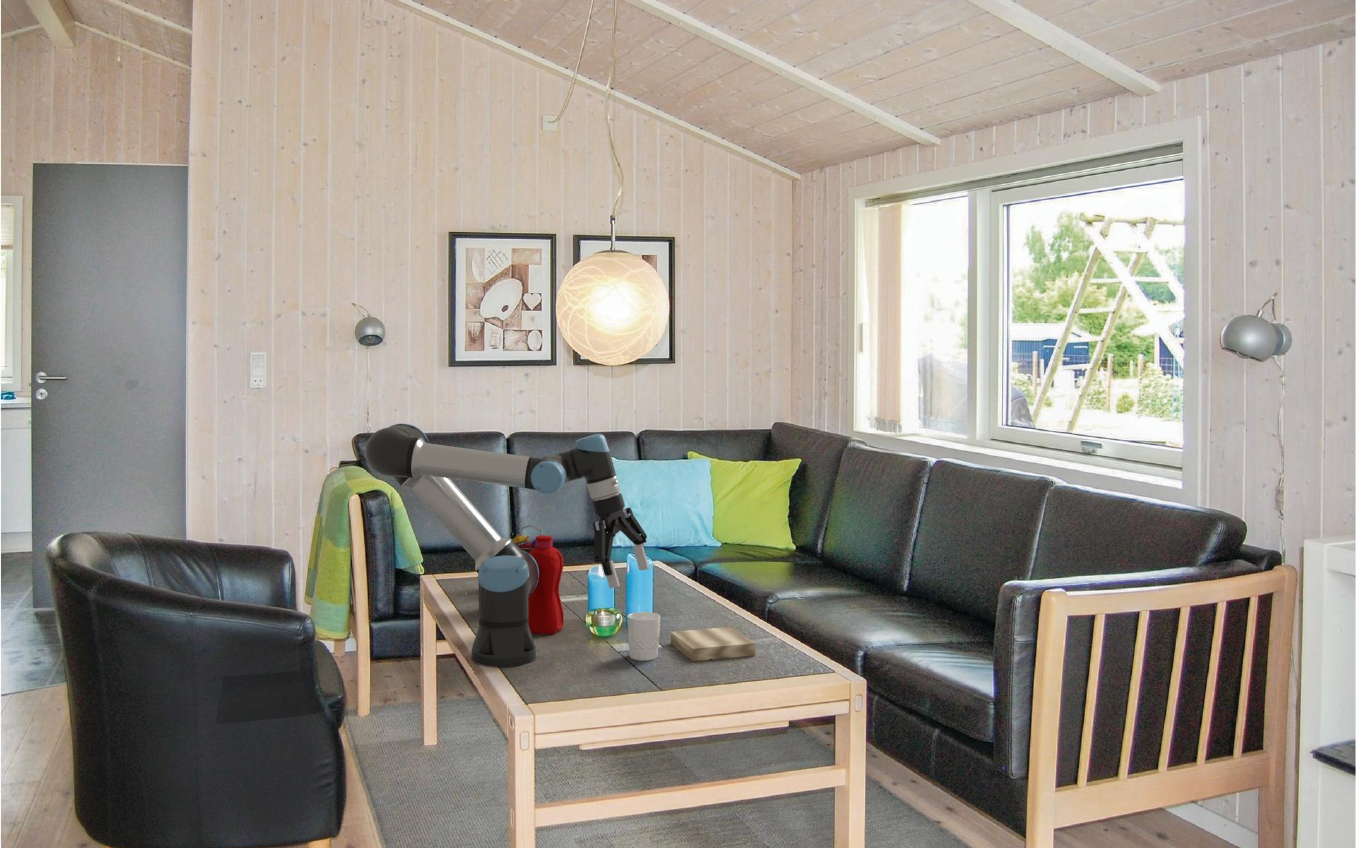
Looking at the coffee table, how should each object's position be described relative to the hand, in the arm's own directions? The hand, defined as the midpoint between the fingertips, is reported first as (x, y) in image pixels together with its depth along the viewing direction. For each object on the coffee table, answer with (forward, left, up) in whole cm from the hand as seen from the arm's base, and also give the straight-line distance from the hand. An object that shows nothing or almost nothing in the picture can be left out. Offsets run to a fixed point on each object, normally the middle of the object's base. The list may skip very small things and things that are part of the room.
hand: (629, 578), depth 275 cm
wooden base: (+18, -10, -17) cm, 27 cm away
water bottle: (-17, +20, -17) cm, 31 cm away
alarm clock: (-12, +65, -17) cm, 68 cm away
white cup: (0, -11, -17) cm, 20 cm away
